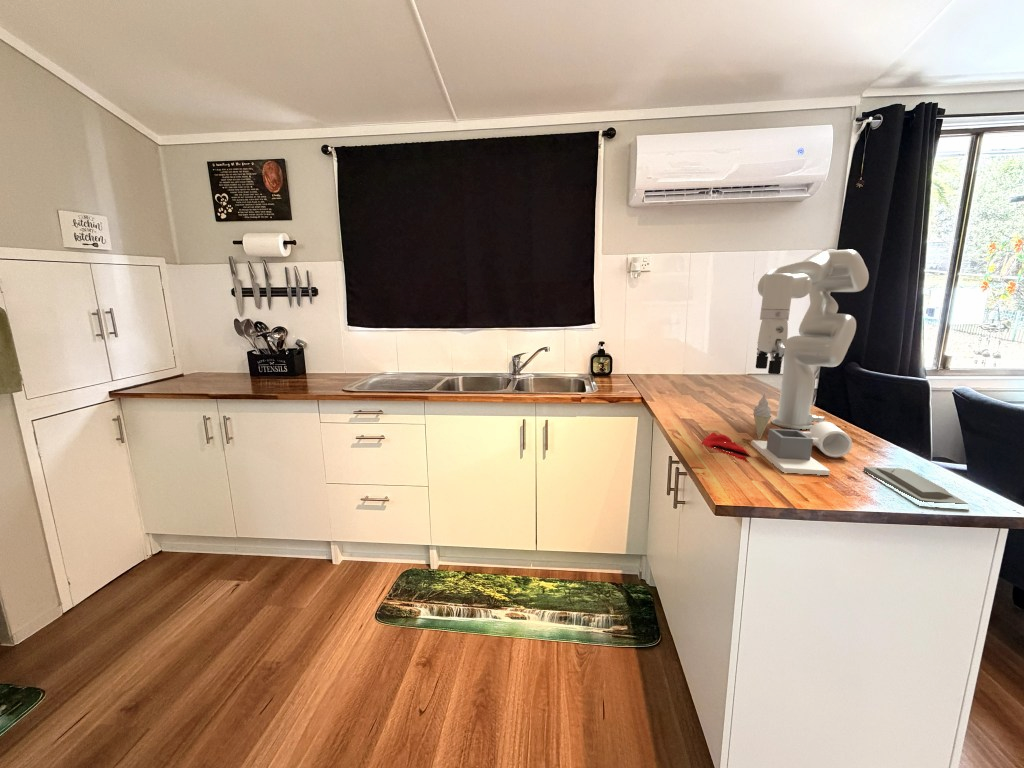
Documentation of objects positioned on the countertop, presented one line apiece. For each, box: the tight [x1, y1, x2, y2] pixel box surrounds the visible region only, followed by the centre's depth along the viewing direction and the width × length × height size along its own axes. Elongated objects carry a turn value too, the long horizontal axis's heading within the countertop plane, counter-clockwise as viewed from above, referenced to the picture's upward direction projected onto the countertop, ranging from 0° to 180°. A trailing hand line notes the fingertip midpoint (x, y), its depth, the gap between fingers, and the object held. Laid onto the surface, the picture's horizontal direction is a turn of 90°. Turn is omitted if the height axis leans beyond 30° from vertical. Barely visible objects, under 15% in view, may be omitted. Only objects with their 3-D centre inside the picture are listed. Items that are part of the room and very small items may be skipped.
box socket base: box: [750, 428, 831, 476], centre depth 124 cm, size 11×22×8 cm, turn 172°
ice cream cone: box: [752, 393, 772, 441], centre depth 140 cm, size 5×5×15 cm
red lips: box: [701, 431, 751, 463], centre depth 136 cm, size 26×14×2 cm, turn 164°
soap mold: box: [862, 466, 969, 504], centre depth 106 cm, size 10×20×4 cm, turn 171°
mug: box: [802, 421, 853, 458], centre depth 131 cm, size 12×10×8 cm
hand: (767, 371), depth 137 cm, fingers open, 9 cm apart
